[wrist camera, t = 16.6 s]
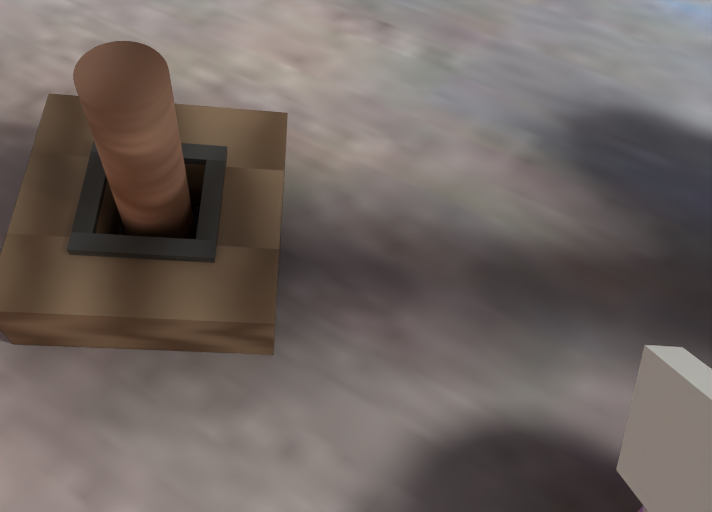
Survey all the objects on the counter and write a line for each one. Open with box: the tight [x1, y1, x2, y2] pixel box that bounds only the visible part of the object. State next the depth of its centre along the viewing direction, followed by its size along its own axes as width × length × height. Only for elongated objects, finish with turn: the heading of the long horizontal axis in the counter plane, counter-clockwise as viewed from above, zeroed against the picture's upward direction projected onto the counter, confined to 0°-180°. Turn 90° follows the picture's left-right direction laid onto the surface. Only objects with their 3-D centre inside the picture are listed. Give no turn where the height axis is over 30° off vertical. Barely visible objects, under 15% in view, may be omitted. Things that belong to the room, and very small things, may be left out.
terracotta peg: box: [73, 41, 196, 239], centre depth 39 cm, size 4×4×16 cm
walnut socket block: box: [0, 94, 287, 355], centre depth 43 cm, size 16×16×6 cm
